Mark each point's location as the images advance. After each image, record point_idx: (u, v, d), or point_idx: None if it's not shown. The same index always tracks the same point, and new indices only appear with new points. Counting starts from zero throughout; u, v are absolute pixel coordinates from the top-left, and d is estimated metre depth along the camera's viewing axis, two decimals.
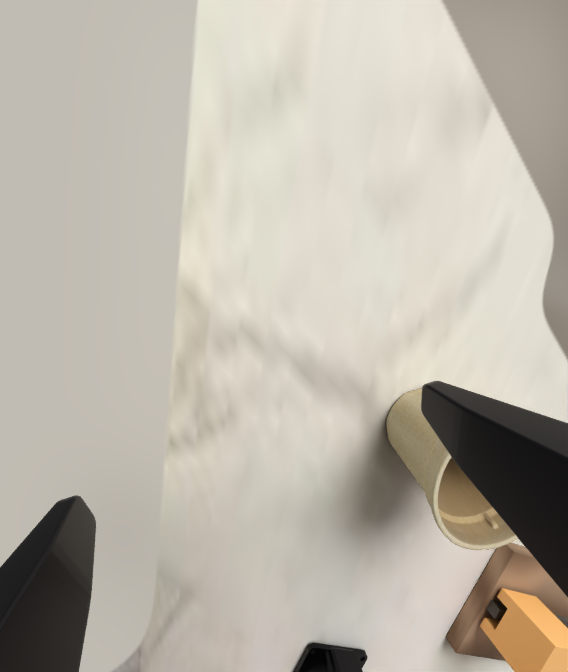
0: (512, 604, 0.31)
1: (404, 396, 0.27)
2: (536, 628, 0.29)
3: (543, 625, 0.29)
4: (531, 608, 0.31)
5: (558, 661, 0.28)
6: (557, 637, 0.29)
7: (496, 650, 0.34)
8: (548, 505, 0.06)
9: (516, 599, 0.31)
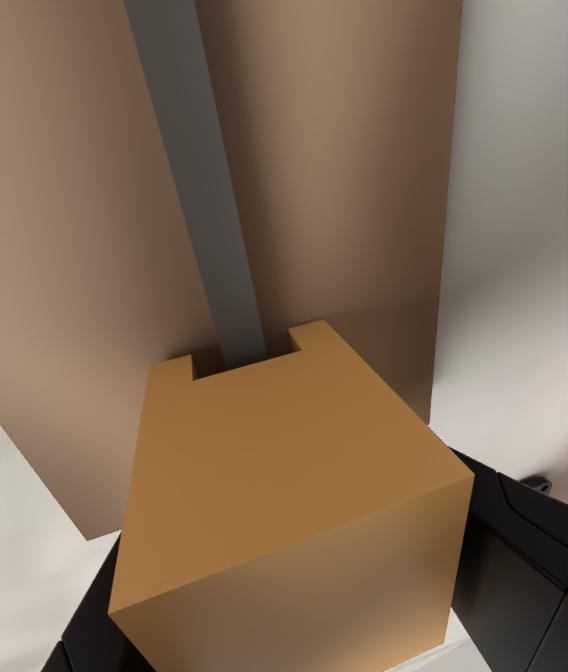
0: None
1: None
2: None
3: None
4: None
5: None
6: None
7: (408, 304, 0.10)
8: None
9: None
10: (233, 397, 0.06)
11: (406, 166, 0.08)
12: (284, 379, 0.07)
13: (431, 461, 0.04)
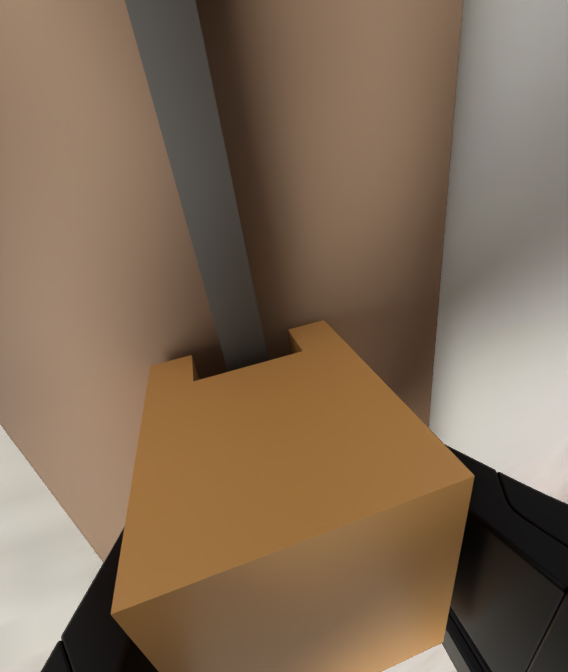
0: None
1: None
2: None
3: None
4: None
5: None
6: None
7: None
8: None
9: None
10: (234, 398, 0.06)
11: None
12: (285, 380, 0.07)
13: (431, 462, 0.05)
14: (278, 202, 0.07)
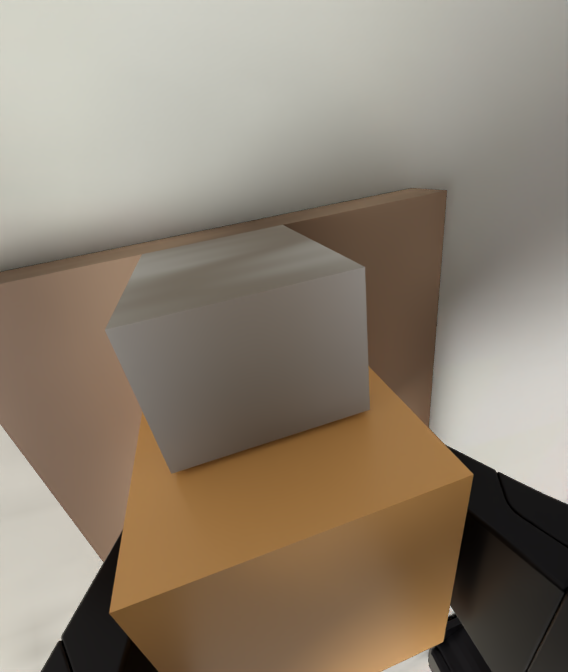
0: None
1: None
2: None
3: None
4: None
5: None
6: None
7: None
8: None
9: None
10: None
11: None
12: None
13: (429, 461, 0.05)
14: None
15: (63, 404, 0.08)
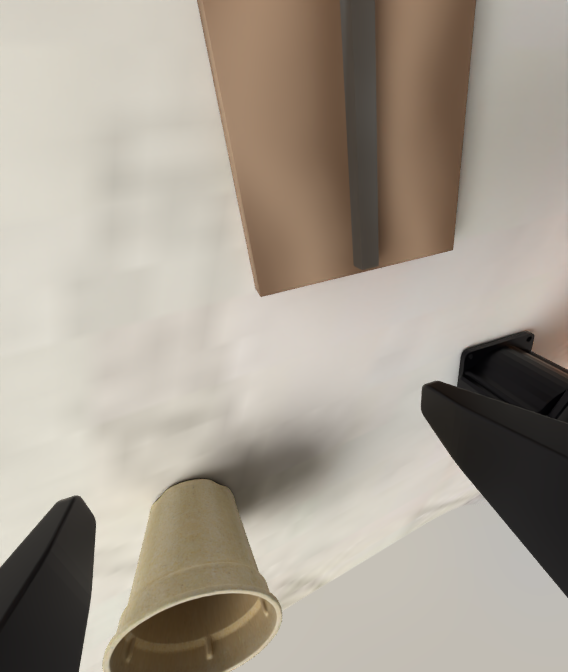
0: None
1: None
2: None
3: None
4: None
5: None
6: None
7: (444, 157, 0.17)
8: (548, 505, 0.06)
9: None
10: None
11: (447, 71, 0.16)
12: None
13: None
14: None
15: None
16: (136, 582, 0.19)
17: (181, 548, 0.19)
